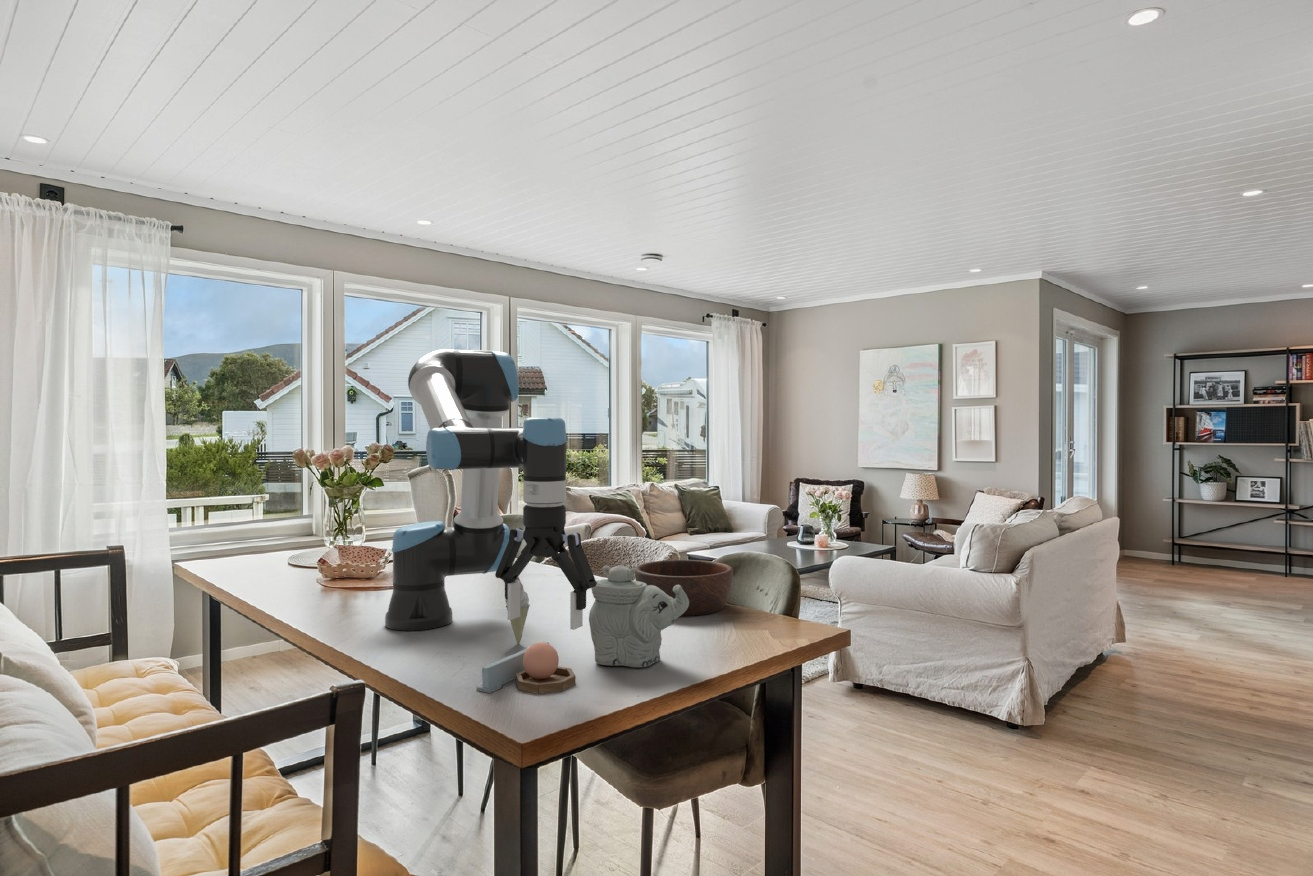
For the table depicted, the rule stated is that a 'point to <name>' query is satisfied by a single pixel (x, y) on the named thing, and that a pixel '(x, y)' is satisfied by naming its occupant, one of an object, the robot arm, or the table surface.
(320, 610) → the table surface
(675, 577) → the wooden bowl
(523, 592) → the ice cream cone
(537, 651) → the ball
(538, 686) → the cork ring
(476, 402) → the robot arm
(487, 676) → the low wall
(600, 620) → the teapot
